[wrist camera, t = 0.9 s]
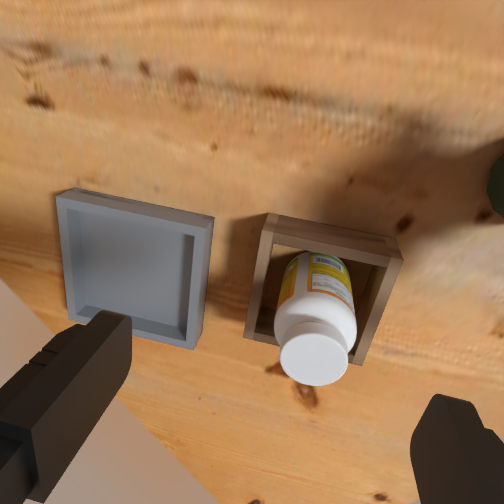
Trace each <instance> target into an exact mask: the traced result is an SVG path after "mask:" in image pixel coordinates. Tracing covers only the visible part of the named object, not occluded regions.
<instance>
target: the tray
mask: <svg viewBox="0 0 504 504" xmlns="http://www.w3.org/2000/svg"><path fill="white" fill-rule="evenodd" d="M56 206H57V215H58V225H59V234H60V243H61V253H62V262H63V272H64V281H65V290H66V300H67V309H68V318H69V320H72V321H76V322H80V323H84V324H88V323H89V321H90V320H91V319H92V318H93V317H94V316H95V315H96V314H97V313H98V312H99V311H101V310H107V311H111V312H115V313H119V314H123V315H127V316H130V317H131V319H132V335H133V336H137V337H141V338H145V339H149V340H153V341H157V342H161V343H165V344H169V345H173V346H177V347H181V348H186V349H190V350H194V349H195V347H196V345H197V343H198V341H199V338H200V336H201V334H202V327H203V318H204V309H205V300H206V291H207V282H208V273H209V263H210V254H211V245H212V236H213V227H214V218H215V217H212V216H207V215H202V214H197V213H193V212H188V211H183V210H178V209H174V208H169V207H164V206H159V205H155V204H150V203H145V202H140V201H136V200H131V199H126V198H121V197H117V196H112V195H107V194H102V193H98V192H93V191H88V190H83V189H79V188H73V189H70V190H68V191H66V192H64V193H62V194H59V195H57V196H56Z"/></svg>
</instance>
